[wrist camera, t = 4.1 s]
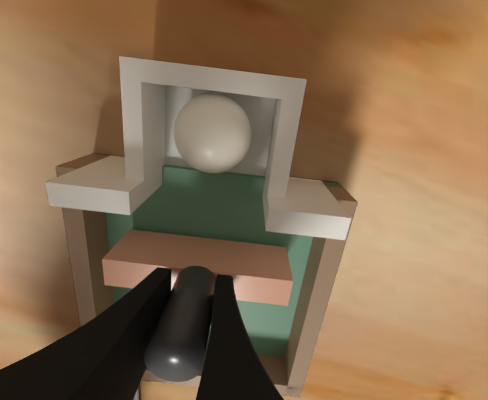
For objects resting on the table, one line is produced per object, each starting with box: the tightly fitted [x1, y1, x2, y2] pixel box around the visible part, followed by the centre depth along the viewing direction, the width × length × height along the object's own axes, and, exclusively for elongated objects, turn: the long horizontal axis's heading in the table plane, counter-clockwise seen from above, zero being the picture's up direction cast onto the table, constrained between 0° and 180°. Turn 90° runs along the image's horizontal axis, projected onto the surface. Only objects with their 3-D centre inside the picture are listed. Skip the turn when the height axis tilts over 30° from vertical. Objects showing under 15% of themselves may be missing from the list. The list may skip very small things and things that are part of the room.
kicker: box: [102, 229, 293, 382], centre depth 12 cm, size 2×9×7 cm, turn 84°
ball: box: [174, 94, 251, 173], centre depth 12 cm, size 4×4×4 cm
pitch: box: [45, 56, 358, 398], centre depth 14 cm, size 19×14×5 cm
